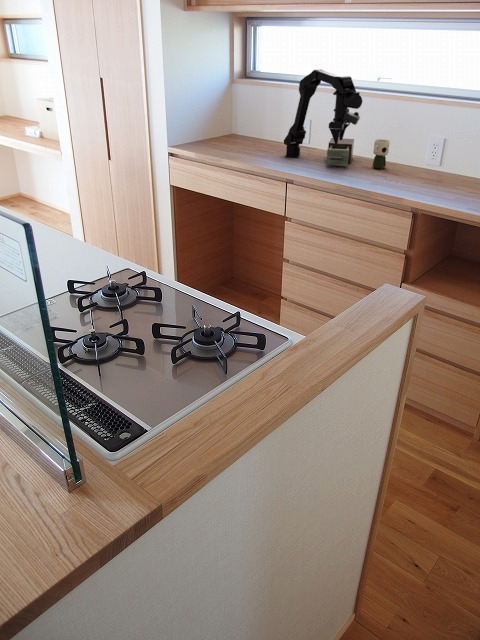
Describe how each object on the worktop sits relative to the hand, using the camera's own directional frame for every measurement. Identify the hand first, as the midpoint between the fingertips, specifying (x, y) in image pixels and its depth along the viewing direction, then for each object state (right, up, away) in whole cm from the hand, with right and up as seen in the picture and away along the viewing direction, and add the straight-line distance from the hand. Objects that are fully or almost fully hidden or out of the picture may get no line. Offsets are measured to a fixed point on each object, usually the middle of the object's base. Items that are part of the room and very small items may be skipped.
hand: (338, 141), depth 254 cm
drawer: (+2, -6, +14) cm, 16 cm away
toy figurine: (+22, -9, +11) cm, 26 cm away
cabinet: (+5, -1, +26) cm, 26 cm away
